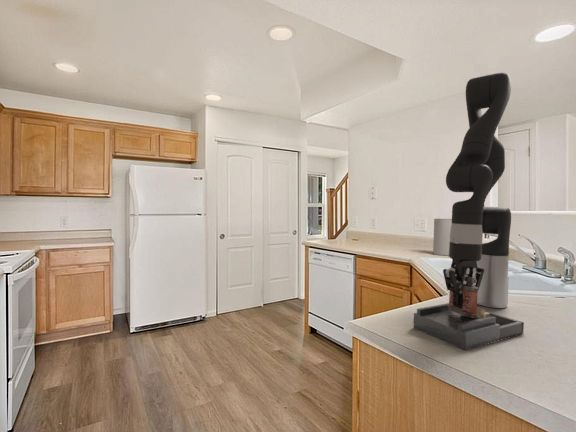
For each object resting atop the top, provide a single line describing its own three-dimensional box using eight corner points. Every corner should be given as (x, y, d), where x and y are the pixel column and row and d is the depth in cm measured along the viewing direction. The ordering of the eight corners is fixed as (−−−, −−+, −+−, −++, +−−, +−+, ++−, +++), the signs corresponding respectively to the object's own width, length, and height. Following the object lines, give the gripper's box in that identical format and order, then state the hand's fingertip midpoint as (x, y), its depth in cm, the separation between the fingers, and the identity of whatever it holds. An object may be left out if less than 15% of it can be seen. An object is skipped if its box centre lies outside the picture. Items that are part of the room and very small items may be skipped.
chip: (469, 314, 89) (471, 305, 89) (483, 319, 85) (485, 309, 86) (459, 311, 87) (462, 302, 88) (473, 316, 84) (476, 307, 84)
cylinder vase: (434, 252, 235) (435, 218, 234) (453, 254, 228) (454, 219, 228) (432, 254, 224) (433, 218, 223) (452, 256, 217) (453, 219, 217)
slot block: (445, 320, 93) (446, 302, 93) (499, 340, 80) (500, 318, 80) (413, 327, 88) (414, 307, 87) (465, 350, 74) (466, 326, 74)
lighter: (444, 308, 88) (446, 272, 88) (454, 307, 89) (456, 271, 89) (470, 318, 81) (472, 278, 81) (480, 317, 82) (482, 278, 82)
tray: (469, 315, 98) (469, 306, 98) (523, 333, 85) (523, 322, 85) (445, 320, 93) (446, 310, 93) (499, 340, 80) (499, 328, 80)
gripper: (469, 239, 91) (466, 300, 92) (434, 240, 85) (431, 305, 85) (496, 242, 85) (493, 308, 85) (461, 243, 78) (457, 313, 78)
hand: (462, 306), depth 85 cm, fingers closed on lighter, 3 cm apart
